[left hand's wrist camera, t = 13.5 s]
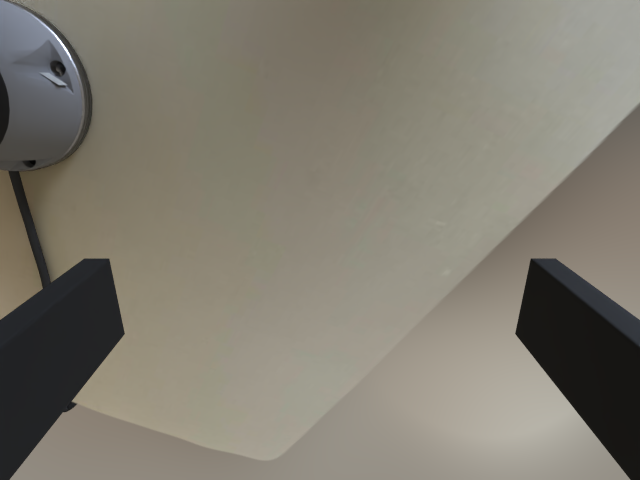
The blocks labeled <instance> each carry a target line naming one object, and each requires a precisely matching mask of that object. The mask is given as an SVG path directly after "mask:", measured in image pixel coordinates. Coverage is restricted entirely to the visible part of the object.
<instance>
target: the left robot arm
mask: <svg viewBox="0 0 640 480" xmlns="http://www.w3.org/2000/svg"><path fill="white" fill-rule="evenodd" d="M91 114H92V97H91V90H90V85H89V81H88V78H87V75H86V72H85V70H84V67H83V65H82V63H81V61H80V59H79V57H78V55H77V54H76V52H75V50H74V49H73V48H72V46H71V45H70V43H69V42H68V41H67V39H66V38H65V37H64V36H63V35H62V34H61V33H60V32H59V31H58V30H57V28H55V27H54V26H53V25H52V24H51V23H50V22H49V21H47V20H46V19H45V18H43V17H42V16H41V15H39V14H37V13H36V12H34V11H33V10H31V9H29V8H27V7H25V6H22V5H20V4H18V3H15V2H12V1H8V0H0V170H7V171H9V175H10V178H11V182H12V185H13V189H14V192H15V195H16V199H17V202H18V205H19V208H20V212H21V215H22V218H23V221H24V224H25V227H26V231H27V234H28V238H29V241H30V245H31V248H32V251H33V254H34V257H35V260H36V264H37V267H38V270H39V274H40V277H41V281H42V286H43V289H42V290H41V291H39V292H38V293H37V294H35V295H34V296H33V297H31V298H30V299H29V300H27V301H26V302H24V303H23V304H22V305H20V306H19V307H18V308H16V309H15V310H13V311H12V312H11V313H9V314H8V315H7V316H5V317H4V318H2V319H1V320H0V480H10V478H11V477H12V476H13V474H14V473H15V472H16V471H17V469H18V468H19V467H20V466H21V464H22V463H23V462H24V461H25V459H26V458H27V457H28V456H29V454H30V453H31V452H32V450H33V449H34V448H35V447H36V445H37V444H38V443H39V442H40V440H41V439H42V438H43V437H44V435H45V434H46V433H47V431H48V430H49V429H50V428H51V426H52V425H53V424H54V423H55V421H56V420H57V419H58V418H59V416H60V415H61V414H62V412H67V411H69V410H71V409H72V408H74V407H75V406H76V405H77V403H74V402H72V400H73V399H74V397H75V396H76V395H77V394H78V392H79V391H80V390H81V388H82V387H83V386H84V385H85V383H86V382H87V381H88V380H89V378H90V377H91V376H92V375H93V373H94V372H95V371H96V369H97V368H98V367H99V366H100V364H101V363H102V362H103V361H104V359H105V358H106V357H107V356H108V354H109V353H110V352H111V351H112V349H113V348H114V347H115V345H116V344H117V343H118V342H119V340H120V339H121V338H122V337H123V335H124V334H125V333H124V328H123V324H122V319H121V314H120V309H119V304H118V299H117V294H116V290H115V285H114V280H113V275H112V270H111V265H110V261H109V259H83V260H82V261H81V262H79V263H78V264H76V265H75V266H74V267H72V268H71V269H70V270H68V271H67V272H66V273H64V274H63V275H61V276H60V277H59V278H57V279H56V280H55V281H53V282H52V283H51V282H50V278H49V274H48V270H47V267H46V263H45V260H44V257H43V253H42V250H41V247H40V244H39V240H38V237H37V233H36V229H35V226H34V222H33V219H32V216H31V213H30V209H29V206H28V203H27V199H26V196H25V192H24V189H23V185H22V181H21V178H20V174H19V171H32V170H37V169H41V168H44V167H48V166H51V165H54V164H57V163H59V162H61V161H63V160H64V159H66V158H67V157H69V156H70V155H71V154H72V153H74V151H75V150H76V149H77V148H78V147H79V146H80V144H81V143H82V141H83V140H84V138H85V136H86V134H87V131H88V128H89V125H90V121H91ZM515 334H516V335H517V337H518V338H519V339H520V340H521V342H522V343H523V344H524V345H525V347H526V348H527V349H528V351H529V352H530V353H531V354H532V355H533V357H534V358H535V359H536V361H537V362H538V363H539V364H540V366H541V367H542V368H543V369H544V371H545V372H546V373H547V375H548V376H549V377H550V378H551V380H552V381H553V382H554V383H555V385H556V386H557V387H558V388H559V390H560V391H561V392H562V394H563V395H564V396H565V397H566V399H567V400H568V401H569V402H570V404H571V405H572V406H573V407H574V409H575V410H576V411H577V413H578V414H579V415H580V416H581V418H582V419H583V420H584V421H585V423H586V424H587V425H588V426H589V428H590V429H591V430H592V431H593V433H594V434H595V435H596V437H597V438H598V439H599V440H600V442H601V443H602V444H603V445H604V447H605V448H606V449H607V450H608V452H609V453H610V454H611V456H612V457H613V458H614V459H615V460H616V462H617V463H618V464H619V466H620V467H621V468H622V469H623V471H624V472H625V473H626V474H627V476H628V477H629V478H630V480H640V320H639V319H637V318H636V317H635V316H633V315H632V314H631V313H629V312H628V311H627V310H625V309H624V308H622V307H621V306H620V305H618V304H617V303H616V302H614V301H613V300H611V299H610V298H609V297H607V296H606V295H605V294H603V293H602V292H601V291H599V290H598V289H596V288H595V287H594V286H592V285H591V284H590V283H588V282H587V281H585V280H584V279H583V278H581V277H580V276H579V275H577V274H576V273H574V272H573V271H572V270H570V269H569V268H568V267H566V266H565V265H564V264H562V263H561V262H559V261H558V260H557V259H531V261H530V266H529V270H528V275H527V280H526V285H525V290H524V294H523V299H522V304H521V309H520V314H519V319H518V324H517V328H516V333H515Z"/></svg>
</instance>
